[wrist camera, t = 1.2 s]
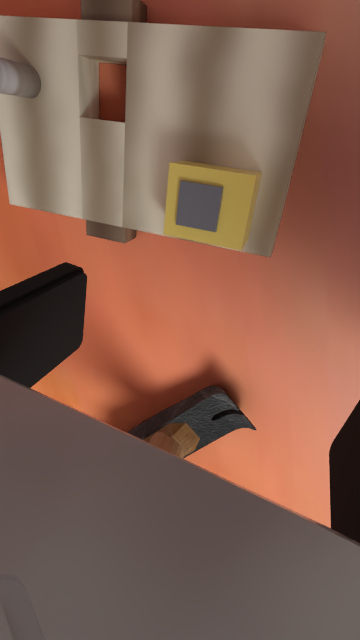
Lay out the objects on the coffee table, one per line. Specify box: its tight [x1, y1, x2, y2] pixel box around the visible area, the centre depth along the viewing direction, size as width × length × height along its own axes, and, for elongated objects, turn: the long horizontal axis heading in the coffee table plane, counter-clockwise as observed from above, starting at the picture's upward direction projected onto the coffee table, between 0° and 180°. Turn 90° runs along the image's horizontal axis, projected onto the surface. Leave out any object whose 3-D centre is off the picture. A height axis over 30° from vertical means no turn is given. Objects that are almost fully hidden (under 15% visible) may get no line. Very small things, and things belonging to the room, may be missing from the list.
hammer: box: [127, 386, 256, 459], centre depth 29 cm, size 20×5×30 cm, turn 133°
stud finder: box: [163, 161, 262, 250], centre depth 25 cm, size 6×5×3 cm
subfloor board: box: [0, 0, 326, 257], centre depth 28 cm, size 25×17×3 cm
